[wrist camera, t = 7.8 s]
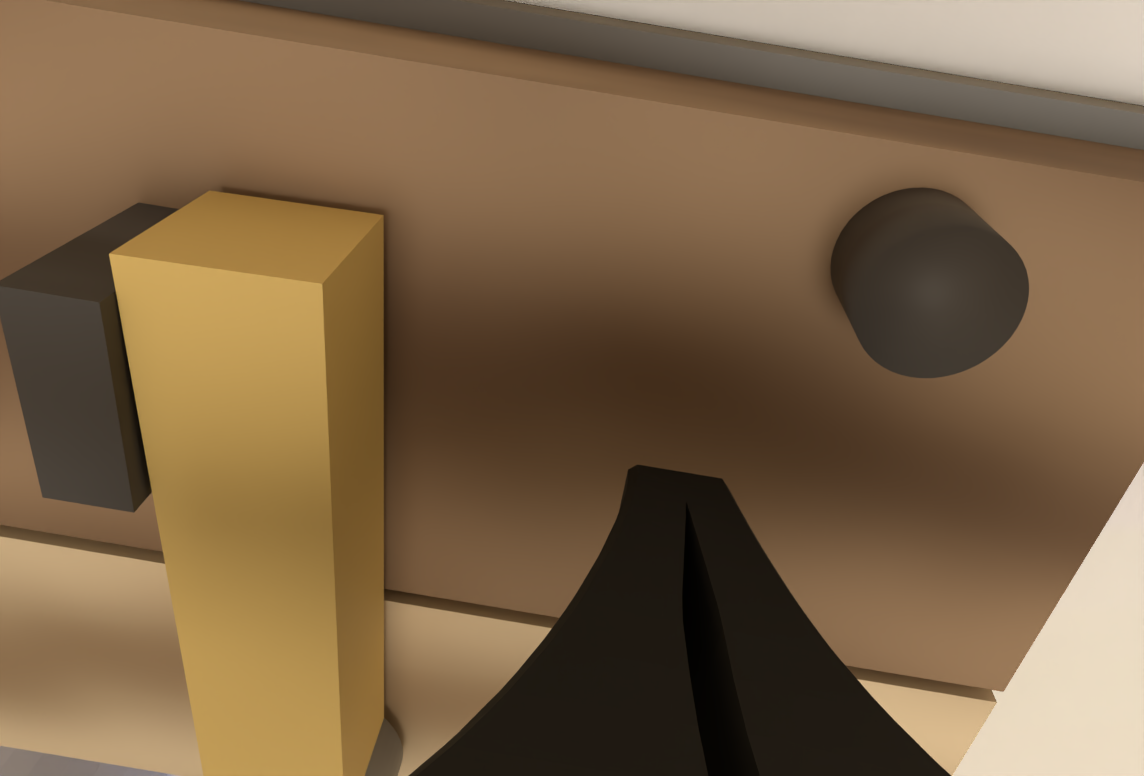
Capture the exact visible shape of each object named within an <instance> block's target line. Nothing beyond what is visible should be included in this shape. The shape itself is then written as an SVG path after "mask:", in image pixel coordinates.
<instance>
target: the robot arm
mask: <svg viewBox="0 0 1144 776" xmlns="http://www.w3.org/2000/svg"><path fill="white" fill-rule="evenodd" d="M0 776H179V775H173V774H167V773H161V772H155V771H149V770H143V769H137V768H131V767H125V766H119V765H113V764H107V763H101V762H95V761H89V760H83V759H77V758H71V757H65V756H59V755H53V754H47V753H41V752H35V751H29V750H23V749H17V748H11V747H5V746H0ZM409 776H951V775H950V774H949V773H948V772H947V771H946V770H945V769H944V768H942V767H941V766H940V765H939V764H938V763H937V762H936V761H935V760H934V759H933V758H932V757H931V756H930V755H929V754H928V753H927V752H926V751H925V750H924V749H923V748H922V747H921V746H920V745H919V744H918V743H917V742H916V741H915V740H914V739H913V738H912V737H911V736H910V735H909V734H908V733H907V732H906V731H905V730H904V729H903V728H902V727H901V726H900V725H899V724H898V723H897V722H896V721H895V720H894V719H893V718H892V717H891V716H890V715H889V714H888V713H887V712H886V711H885V710H884V709H883V708H882V706H881V705H880V704H879V703H878V702H877V701H876V700H875V699H874V698H873V697H872V696H871V695H870V693H869V692H868V691H867V690H866V689H865V688H864V686H863V685H862V684H861V683H860V682H859V681H858V680H857V678H856V677H855V676H854V675H853V674H852V673H851V671H850V670H849V669H848V668H847V667H846V666H845V664H844V663H843V662H842V661H841V660H840V659H839V657H838V656H837V655H836V654H835V652H834V651H833V650H832V649H831V647H830V646H829V645H828V644H827V642H826V641H825V640H824V639H823V637H822V636H821V634H820V633H819V632H818V630H817V629H816V628H815V626H814V625H813V623H812V622H811V621H810V619H809V618H808V617H807V615H806V614H805V613H804V611H803V610H802V608H801V607H800V605H799V604H798V602H797V601H796V599H795V598H794V597H793V595H792V594H791V592H790V591H789V589H788V588H787V586H786V584H785V583H784V581H783V580H782V578H781V577H780V575H779V574H778V572H777V570H776V569H775V567H774V566H773V564H772V563H771V561H770V560H769V558H768V556H767V555H766V553H765V551H764V550H763V548H762V547H761V545H760V543H759V541H758V540H757V538H756V536H755V535H754V533H753V531H752V529H751V528H750V526H749V524H748V523H747V521H746V519H745V517H744V515H743V514H742V512H741V510H740V508H739V506H738V505H737V503H736V501H735V499H734V497H733V495H732V494H731V492H730V490H729V488H728V486H727V485H726V483H725V482H724V481H723V479H722V478H716V477H710V476H704V475H698V474H692V473H686V472H680V471H674V470H668V469H662V468H656V467H650V466H644V465H638V464H637V465H636V466H634V467H632V468H630V469H628V472H627V477H626V481H625V486H624V491H623V495H622V500H621V504H620V509H619V513H618V516H617V518H616V521H615V523H614V525H613V527H612V529H611V531H610V533H609V535H608V538H607V540H606V542H605V544H604V546H603V548H602V550H601V552H600V554H599V556H598V558H597V559H596V561H595V563H594V564H593V566H592V568H591V570H590V571H589V573H588V575H587V576H586V578H585V580H584V581H583V583H582V585H581V586H580V588H579V590H578V591H577V593H576V594H575V596H574V598H573V599H572V600H571V602H570V603H569V605H568V606H567V608H566V609H565V611H564V612H563V614H562V615H561V617H560V618H559V619H558V621H557V622H556V623H555V625H554V626H553V627H552V629H551V630H550V631H549V633H548V634H547V636H546V637H545V638H544V639H543V641H542V642H541V643H540V644H539V646H538V647H537V648H536V649H535V651H534V652H533V653H532V654H531V655H530V657H529V658H528V659H527V660H526V661H525V663H524V664H523V665H522V666H521V667H520V669H519V670H518V671H517V672H516V673H515V674H514V676H513V677H512V678H511V679H510V680H509V681H508V682H507V683H506V685H505V686H504V687H503V688H502V689H501V690H500V691H499V692H498V693H497V694H496V695H495V696H494V697H493V698H492V699H491V700H490V701H489V702H488V703H487V704H486V705H485V706H484V707H483V708H482V709H481V710H480V711H479V712H478V713H477V714H476V715H475V716H474V717H473V718H472V719H471V720H470V721H469V722H468V723H467V724H466V725H465V726H464V727H463V728H462V729H461V730H460V731H459V732H458V733H457V734H456V735H455V736H454V737H453V738H452V739H451V740H449V741H448V742H447V743H446V744H445V745H444V746H443V747H442V748H440V749H439V750H438V751H437V752H436V753H434V754H433V755H432V756H431V757H430V758H429V759H427V760H426V761H425V762H424V763H423V764H422V765H420V766H419V767H418V768H417V769H416V770H414V771H413V772H412V773H411V774H410V775H409Z"/></svg>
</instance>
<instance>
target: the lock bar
mask: <svg viewBox="0 0 1144 776" xmlns="http://www.w3.org/2000/svg"><path fill="white" fill-rule="evenodd" d="M109 257H110V263H111V268H112V274H113V279H114V285H115V290H116V296H117V301H118V307H119V312H120V318H121V323H122V329H123V334H124V340H125V346H126V351H127V357H128V362H129V368H130V373H131V379H132V384H133V390H134V395H135V401H136V406H137V412H138V417H139V423H140V428H141V434H142V439H143V445H144V450H145V456H146V462H147V467H148V473H149V478H150V484H151V489H152V495H153V500H154V506H155V511H156V517H157V522H158V528H159V533H160V539H161V544H162V550H163V555H164V561H165V567H166V572H167V578H168V583H169V589H170V594H171V600H172V605H173V611H174V616H175V622H176V627H177V633H178V638H179V644H180V649H181V655H182V660H183V666H184V672H185V677H186V683H187V688H188V694H189V699H190V705H191V710H192V716H193V721H194V727H195V732H196V738H197V743H198V749H199V754H200V760H201V765H202V771H203V776H398V773H399V770H400V766H401V763H402V759H403V747H402V743H401V740H400V738H399V736H398V734H397V732H396V731H395V729H394V728H393V727H392V725H391V724H390V723H389V722H388V721H387V720H386V719H385V718H384V215H380V214H373V213H366V212H359V211H352V210H344V209H337V208H330V207H323V206H316V205H309V204H302V203H295V202H288V201H280V200H273V199H266V198H259V197H252V196H245V195H238V194H231V193H223V192H216V191H208V192H206V193H205V194H203V195H202V196H200V197H198V198H197V199H195V200H194V201H192V202H190V203H189V204H187V205H186V206H184V207H182V208H181V209H179V210H178V211H176V212H174V213H173V214H171V215H170V216H168V217H166V218H165V219H163V220H162V221H160V222H158V223H157V224H155V225H154V226H152V227H150V228H149V229H147V230H146V231H144V232H143V233H141V234H139V235H138V236H136V237H135V238H133V239H131V240H130V241H128V242H127V243H125V244H123V245H122V246H120V247H119V248H117V249H115V250H114V251H112V252H111V253H109Z"/></svg>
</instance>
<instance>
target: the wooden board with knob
mask: <svg viewBox="0 0 1144 776" xmlns="http://www.w3.org/2000/svg"><path fill="white" fill-rule="evenodd" d="M208 191H216V192H223V193H231V194H238V195H245V196H252V197H259V198H266V199H273V200H280V201H288V202H295V203H302V204H309V205H316V206H323V207H330V208H337V209H344V210H352V211H359V212H366V213H373V214H380V215H384V718H385V719H386V720H387V721H388V722H389V723H390V724H391V725H392V727H393V728H394V729H395V731H396V732H397V734H398V736H399V738H400V740H401V743H402V747H403V759H402V763H401V766H400V770H399V773H398V776H409V775H410V774H411V773H412V772H413V771H414V770H416V769H417V768H418V767H419V766H420V765H422V764H423V763H424V762H425V761H426V760H427V759H429V758H430V757H431V756H432V755H433V754H434V753H436V752H437V751H438V750H439V749H440V748H442V747H443V746H444V745H445V744H446V743H447V742H448V741H449V740H451V739H452V738H453V737H454V736H455V735H456V734H457V733H458V732H459V731H460V730H461V729H462V728H463V727H464V726H465V725H466V724H467V723H468V722H469V721H470V720H471V719H472V718H473V717H474V716H475V715H476V714H477V713H478V712H479V711H480V710H481V709H482V708H483V707H484V706H485V705H486V704H487V703H488V702H489V701H490V700H491V699H492V698H493V697H494V696H495V695H496V694H497V693H498V692H499V691H500V690H501V689H502V688H503V687H504V686H505V685H506V683H507V682H508V681H509V680H510V679H511V678H512V677H513V676H514V674H515V673H516V672H517V671H518V670H519V669H520V667H521V666H522V665H523V664H524V663H525V661H526V660H527V659H528V658H529V657H530V655H531V654H532V653H533V652H534V651H535V649H536V648H537V647H538V646H539V644H540V643H541V642H542V641H543V639H544V638H545V637H546V636H547V634H548V633H549V631H550V630H551V629H552V627H553V626H554V625H555V623H556V622H557V621H558V619H559V618H560V617H561V615H562V614H563V612H564V611H565V609H566V608H567V606H568V605H569V603H570V602H571V600H572V599H573V598H574V596H575V594H576V593H577V591H578V590H579V588H580V586H581V585H582V583H583V581H584V580H585V578H586V576H587V575H588V573H589V571H590V570H591V568H592V566H593V564H594V563H595V561H596V559H597V558H598V556H599V554H600V552H601V550H602V548H603V546H604V544H605V542H606V540H607V538H608V535H609V533H610V531H611V529H612V527H613V525H614V523H615V521H616V518H617V516H618V513H619V509H620V504H621V500H622V495H623V491H624V486H625V481H626V477H627V472H628V469H630V468H632V467H634V466H636V465H637V464H638V465H644V466H650V467H656V468H662V469H668V470H674V471H680V472H686V473H692V474H698V475H704V476H710V477H716V478H722V479H723V481H724V482H725V483H726V485H727V486H728V488H729V490H730V492H731V494H732V495H733V497H734V499H735V501H736V503H737V505H738V506H739V508H740V510H741V512H742V514H743V515H744V517H745V519H746V521H747V523H748V524H749V526H750V528H751V529H752V531H753V533H754V535H755V536H756V538H757V540H758V541H759V543H760V545H761V547H762V548H763V550H764V551H765V553H766V555H767V556H768V558H769V560H770V561H771V563H772V564H773V566H774V567H775V569H776V570H777V572H778V574H779V575H780V577H781V578H782V580H783V581H784V583H785V584H786V586H787V588H788V589H789V591H790V592H791V594H792V595H793V597H794V598H795V599H796V601H797V602H798V604H799V605H800V607H801V608H802V610H803V611H804V613H805V614H806V615H807V617H808V618H809V619H810V621H811V622H812V623H813V625H814V626H815V628H816V629H817V630H818V632H819V633H820V634H821V636H822V637H823V639H824V640H825V641H826V642H827V644H828V645H829V646H830V647H831V649H832V650H833V651H834V652H835V654H836V655H837V656H838V657H839V659H840V660H841V661H842V662H843V663H844V664H845V666H846V667H847V668H848V669H849V670H850V671H851V673H852V674H853V675H854V676H855V677H856V678H857V680H858V681H859V682H860V683H861V684H862V685H863V686H864V688H865V689H866V690H867V691H868V692H869V693H870V695H871V696H872V697H873V698H874V699H875V700H876V701H877V702H878V703H879V704H880V705H881V706H882V708H883V709H884V710H885V711H886V712H887V713H888V714H889V715H890V716H891V717H892V718H893V719H894V720H895V721H896V722H897V723H898V724H899V725H900V726H901V727H902V728H903V729H904V730H905V731H906V732H907V733H908V734H909V735H910V736H911V737H912V738H913V739H914V740H915V741H916V742H917V743H918V744H919V745H920V746H921V747H922V748H923V749H924V750H925V751H926V752H927V753H928V754H929V755H930V756H931V757H932V758H933V759H934V760H935V761H936V762H937V763H938V764H939V765H940V766H941V767H942V768H944V769H945V770H946V771H947V772H948V773H949V774H950V775H951V776H952V775H953V773H954V772H955V770H956V768H957V767H958V765H959V763H960V762H961V760H962V759H963V757H964V755H965V754H966V752H967V750H968V749H969V747H970V745H971V744H972V742H973V741H974V739H975V737H976V736H977V734H978V732H979V731H980V729H981V727H982V726H983V724H984V723H985V721H986V719H987V718H988V716H989V714H990V713H991V711H992V709H993V708H994V706H995V705H996V703H997V702H996V699H995V697H994V695H993V693H992V690H997V691H1004V690H1005V688H1006V687H1007V685H1008V683H1009V682H1010V680H1011V678H1012V677H1013V675H1014V673H1015V672H1016V670H1017V669H1018V667H1019V665H1020V664H1021V662H1022V660H1023V659H1024V657H1025V655H1026V654H1027V652H1028V651H1029V649H1030V647H1031V646H1032V644H1033V642H1034V641H1035V639H1036V637H1037V636H1038V634H1039V633H1040V631H1041V629H1042V628H1043V626H1044V624H1045V623H1046V621H1047V619H1048V618H1049V616H1050V614H1051V613H1052V611H1053V610H1054V608H1055V606H1056V605H1057V603H1058V601H1059V600H1060V598H1061V596H1062V595H1063V593H1064V592H1065V590H1066V588H1067V587H1068V585H1069V583H1070V582H1071V580H1072V578H1073V577H1074V575H1075V574H1076V572H1077V570H1078V569H1079V567H1080V565H1081V564H1082V562H1083V560H1084V559H1085V557H1086V556H1087V554H1088V552H1089V551H1090V549H1091V547H1092V546H1093V544H1094V542H1095V541H1096V539H1097V538H1098V536H1099V534H1100V533H1101V531H1102V529H1103V528H1104V526H1105V524H1106V523H1107V521H1108V520H1109V518H1110V516H1111V515H1112V513H1113V511H1114V510H1115V508H1116V506H1117V505H1118V503H1119V502H1120V500H1121V498H1122V497H1123V495H1124V493H1125V492H1126V490H1127V488H1128V487H1129V485H1130V484H1131V482H1132V480H1133V479H1134V477H1135V475H1136V474H1137V472H1138V470H1139V469H1140V467H1141V466H1142V464H1143V462H1144V106H1140V105H1134V104H1127V103H1121V102H1115V101H1109V100H1103V99H1097V98H1091V97H1085V96H1079V95H1073V94H1067V93H1061V92H1055V91H1049V90H1043V89H1037V88H1031V87H1025V86H1019V85H1013V84H1007V83H1001V82H994V81H988V80H982V79H976V78H970V77H964V76H958V75H952V74H946V73H940V72H934V71H928V70H922V69H916V68H910V67H904V66H898V65H892V64H886V63H880V62H874V61H868V60H861V59H855V58H849V57H843V56H837V55H831V54H825V53H819V52H813V51H807V50H801V49H795V48H789V47H783V46H777V45H771V44H765V43H759V42H753V41H747V40H741V39H734V38H728V37H722V36H716V35H710V34H704V33H698V32H692V31H686V30H680V29H674V28H668V27H662V26H656V25H650V24H644V23H638V22H632V21H626V20H620V19H614V18H608V17H601V16H595V15H589V14H583V13H577V12H571V11H565V10H559V9H553V8H547V7H541V6H535V5H529V4H523V3H517V2H511V1H505V0H0V746H5V747H11V748H17V749H23V750H29V751H35V752H41V753H47V754H53V755H59V756H65V757H71V758H77V759H83V760H89V761H95V762H101V763H107V764H113V765H119V766H125V767H131V768H137V769H143V770H149V771H155V772H161V773H167V774H173V775H179V776H203V771H202V765H201V760H200V754H199V749H198V743H197V738H196V732H195V727H194V721H193V716H192V710H191V705H190V699H189V694H188V688H187V683H186V677H185V672H184V666H183V660H182V655H181V649H180V644H179V638H178V633H177V627H176V622H175V616H174V611H173V605H172V600H171V594H170V589H169V583H168V578H167V572H166V567H165V561H164V555H163V550H162V544H161V539H160V533H159V528H158V522H157V517H156V511H155V506H154V500H153V495H152V489H151V484H150V478H149V473H148V467H147V462H146V456H145V450H144V445H143V439H142V434H141V428H140V423H139V417H138V412H137V406H136V401H135V395H134V390H133V384H132V379H131V373H130V368H129V362H128V357H127V351H126V346H125V340H124V334H123V329H122V323H121V318H120V312H119V307H118V301H117V296H116V290H115V285H114V279H113V274H112V268H111V263H110V257H109V253H111V252H112V251H114V250H115V249H117V248H119V247H120V246H122V245H123V244H125V243H127V242H128V241H130V240H131V239H133V238H135V237H136V236H138V235H139V234H141V233H143V232H144V231H146V230H147V229H149V228H150V227H152V226H154V225H155V224H157V223H158V222H160V221H162V220H163V219H165V218H166V217H168V216H170V215H171V214H173V213H174V212H176V211H178V210H179V209H181V208H182V207H184V206H186V205H187V204H189V203H190V202H192V201H194V200H195V199H197V198H198V197H200V196H202V195H203V194H205V193H206V192H208Z"/></svg>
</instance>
